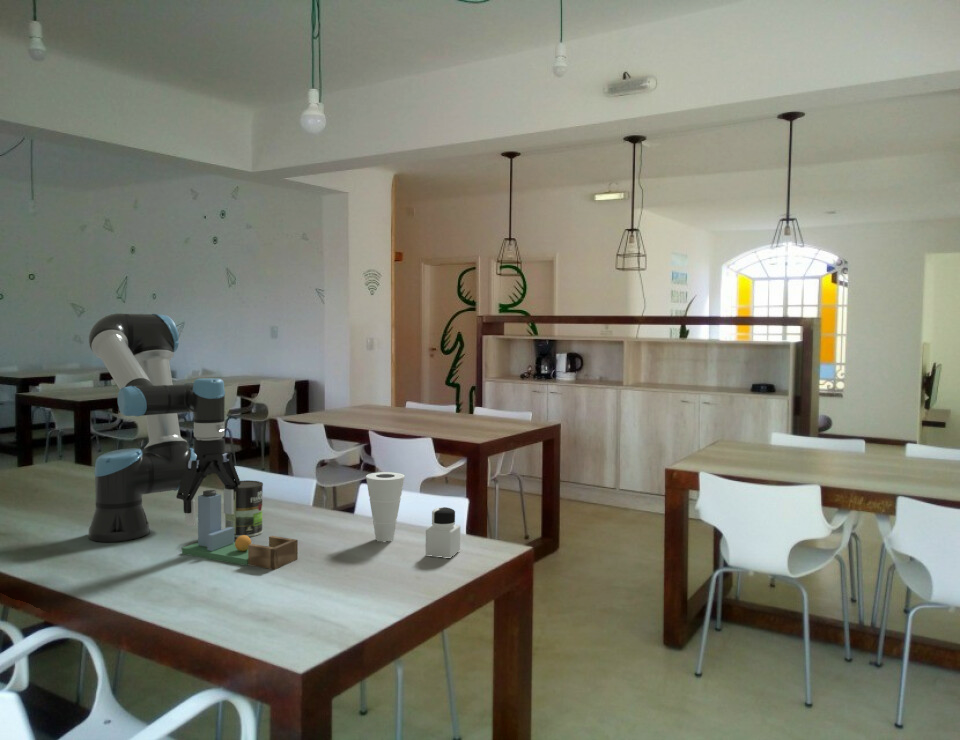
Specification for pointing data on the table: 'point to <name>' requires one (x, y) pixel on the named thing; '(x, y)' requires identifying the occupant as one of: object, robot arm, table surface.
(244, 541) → the ball
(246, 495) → the coffee can
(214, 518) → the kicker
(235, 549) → the plate
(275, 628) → the table surface
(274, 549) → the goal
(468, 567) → the table surface
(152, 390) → the robot arm
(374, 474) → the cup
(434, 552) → the medicine bottle
